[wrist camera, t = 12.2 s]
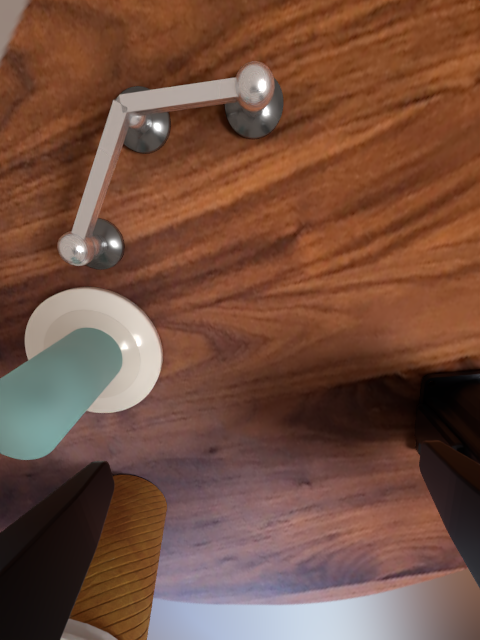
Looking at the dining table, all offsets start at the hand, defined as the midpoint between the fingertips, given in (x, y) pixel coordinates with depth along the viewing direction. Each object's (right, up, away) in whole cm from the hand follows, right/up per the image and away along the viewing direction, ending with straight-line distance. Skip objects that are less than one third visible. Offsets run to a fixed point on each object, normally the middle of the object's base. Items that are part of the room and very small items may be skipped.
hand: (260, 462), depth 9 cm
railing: (-4, +12, +9) cm, 16 cm away
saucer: (-10, +2, +12) cm, 16 cm away
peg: (-10, +2, +12) cm, 16 cm away
